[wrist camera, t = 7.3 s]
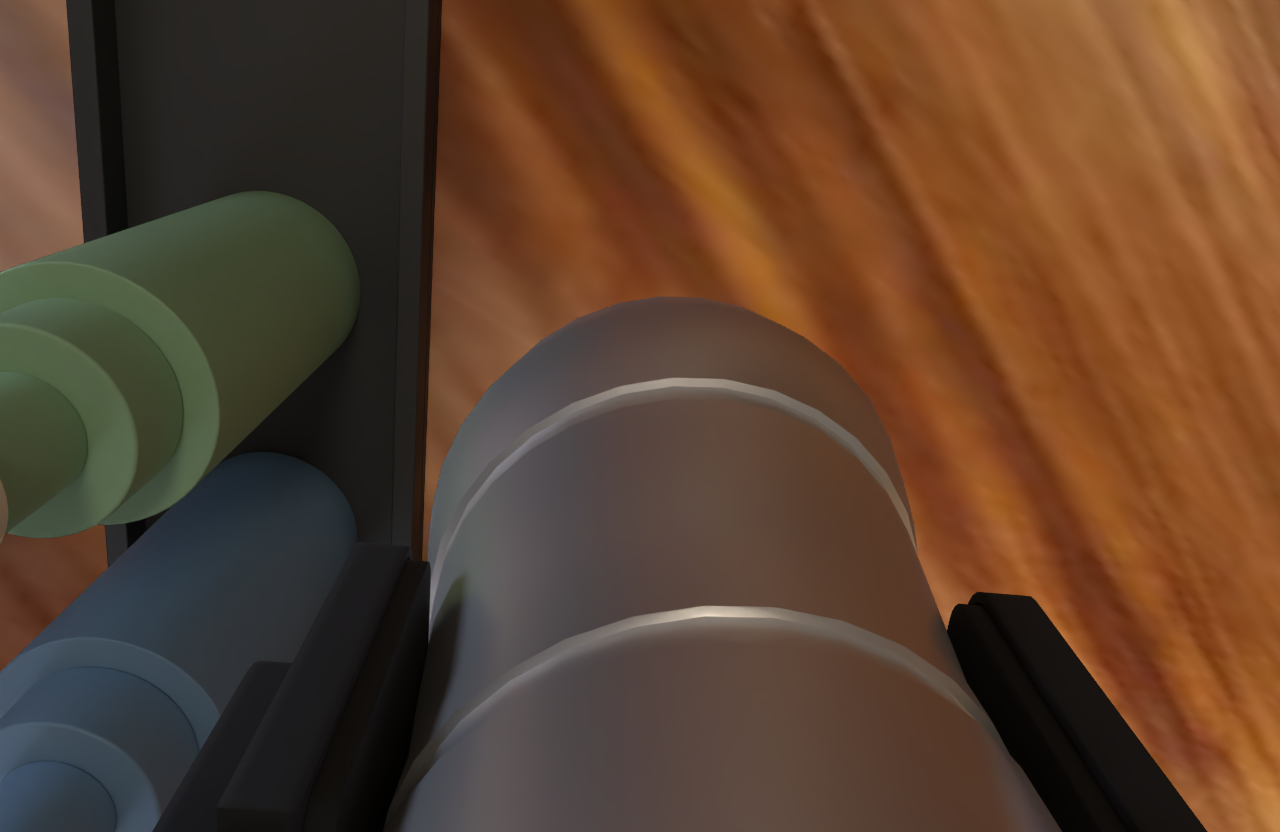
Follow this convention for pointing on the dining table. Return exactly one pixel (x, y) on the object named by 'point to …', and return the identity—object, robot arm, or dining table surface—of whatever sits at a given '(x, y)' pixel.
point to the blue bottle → (166, 646)
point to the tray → (297, 167)
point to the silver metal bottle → (689, 602)
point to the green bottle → (159, 355)
